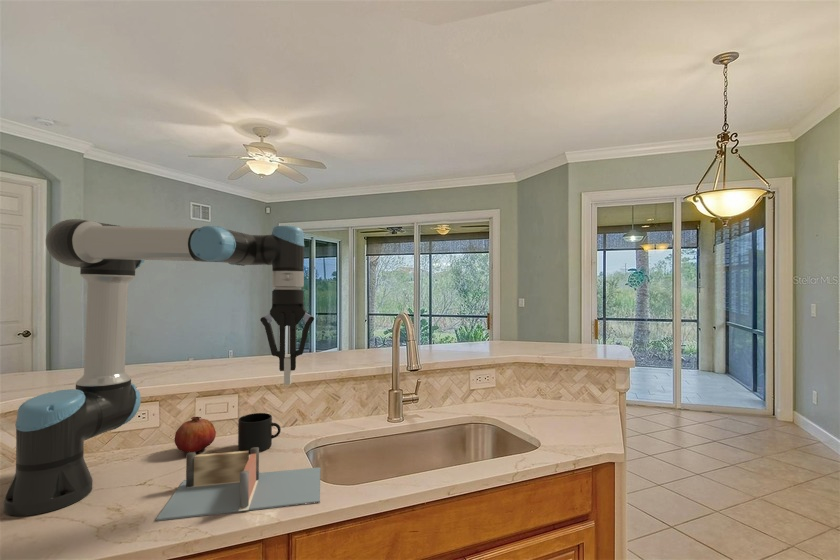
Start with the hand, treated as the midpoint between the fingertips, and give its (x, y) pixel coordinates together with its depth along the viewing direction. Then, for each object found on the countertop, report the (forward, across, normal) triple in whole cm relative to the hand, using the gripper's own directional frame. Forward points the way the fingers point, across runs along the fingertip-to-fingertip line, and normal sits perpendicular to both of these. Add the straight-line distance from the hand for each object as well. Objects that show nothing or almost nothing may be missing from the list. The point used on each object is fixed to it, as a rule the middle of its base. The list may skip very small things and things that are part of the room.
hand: (287, 383), depth 104 cm
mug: (+25, -10, +26) cm, 37 cm away
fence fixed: (+24, -15, +3) cm, 29 cm away
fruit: (+25, -28, +27) cm, 46 cm away
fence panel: (+24, -8, -5) cm, 26 cm away
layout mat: (+24, -8, -2) cm, 26 cm away
